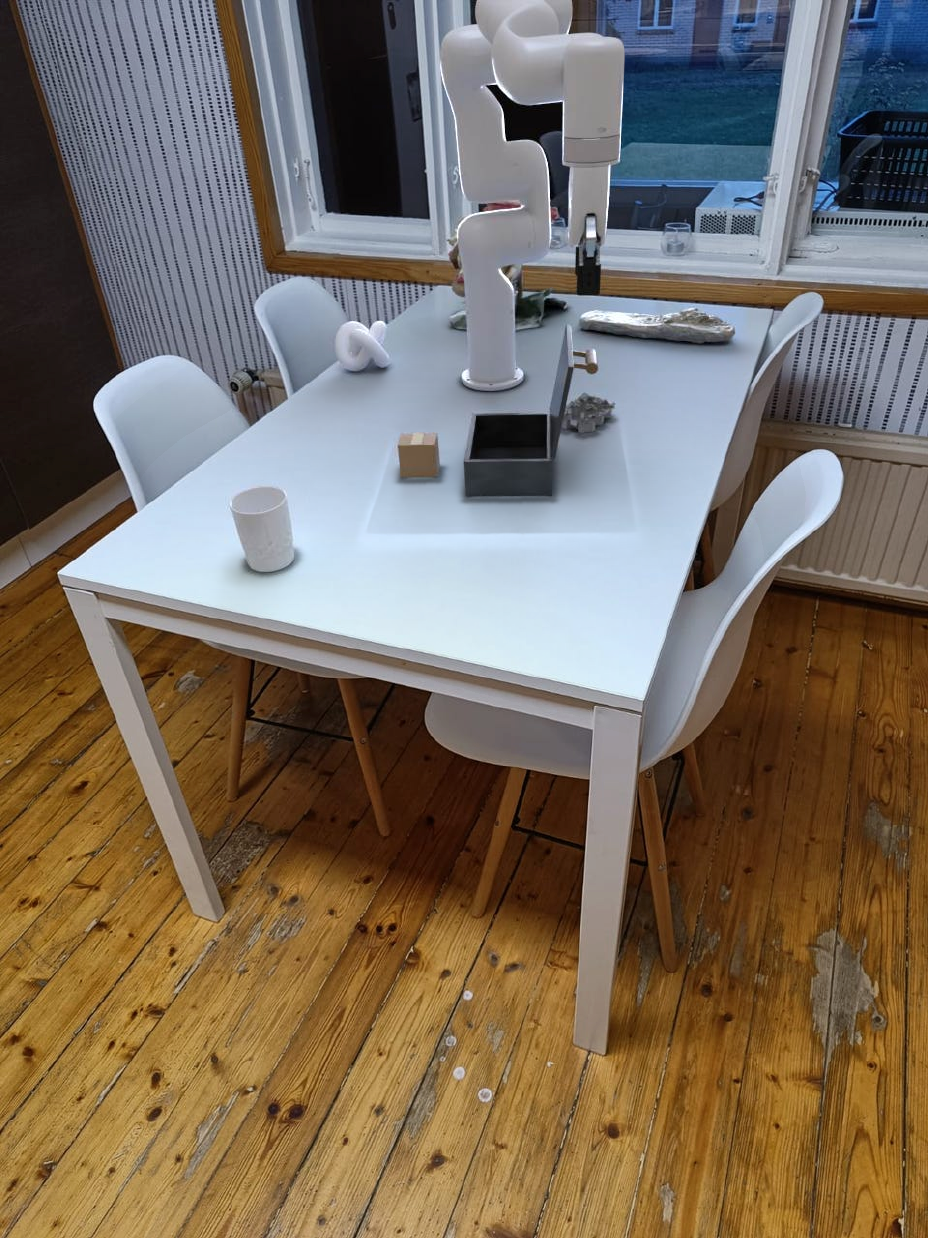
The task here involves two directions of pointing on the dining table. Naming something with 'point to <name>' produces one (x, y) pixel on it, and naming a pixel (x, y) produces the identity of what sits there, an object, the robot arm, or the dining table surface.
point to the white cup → (264, 527)
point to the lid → (566, 384)
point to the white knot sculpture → (361, 345)
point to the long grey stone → (661, 325)
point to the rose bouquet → (525, 306)
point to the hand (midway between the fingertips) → (587, 284)
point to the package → (418, 455)
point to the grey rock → (586, 413)
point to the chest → (508, 455)
